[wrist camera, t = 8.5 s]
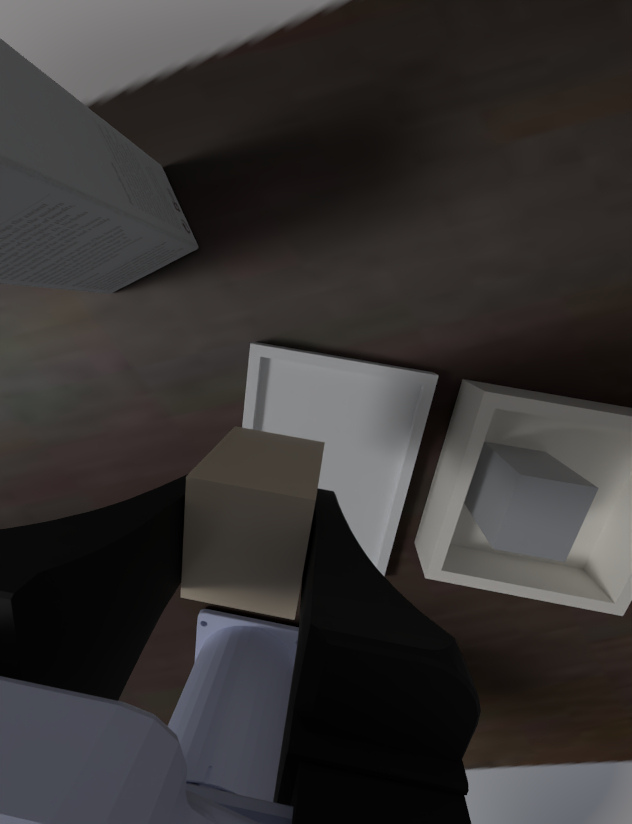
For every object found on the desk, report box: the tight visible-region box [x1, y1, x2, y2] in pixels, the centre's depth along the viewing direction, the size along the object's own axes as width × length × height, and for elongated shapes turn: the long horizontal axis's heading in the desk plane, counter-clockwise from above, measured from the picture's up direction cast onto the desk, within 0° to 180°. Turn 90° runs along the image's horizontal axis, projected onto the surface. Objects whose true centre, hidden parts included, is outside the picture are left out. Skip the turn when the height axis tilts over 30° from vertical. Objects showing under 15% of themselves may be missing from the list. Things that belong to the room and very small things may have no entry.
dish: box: [414, 379, 632, 616], centre depth 18 cm, size 11×11×3 cm
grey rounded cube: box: [464, 442, 599, 562], centre depth 17 cm, size 4×3×4 cm
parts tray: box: [242, 342, 439, 576], centre depth 20 cm, size 14×10×1 cm
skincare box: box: [0, 39, 198, 293], centre depth 12 cm, size 6×4×12 cm
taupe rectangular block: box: [181, 426, 325, 620], centre depth 11 cm, size 4×3×4 cm
